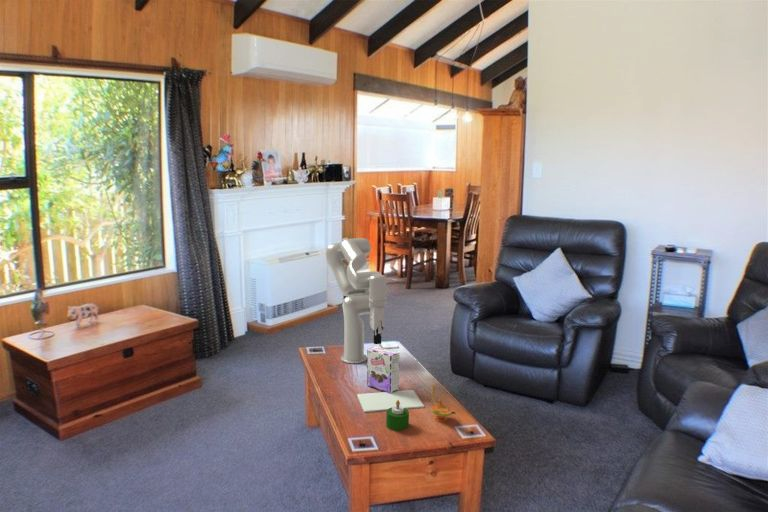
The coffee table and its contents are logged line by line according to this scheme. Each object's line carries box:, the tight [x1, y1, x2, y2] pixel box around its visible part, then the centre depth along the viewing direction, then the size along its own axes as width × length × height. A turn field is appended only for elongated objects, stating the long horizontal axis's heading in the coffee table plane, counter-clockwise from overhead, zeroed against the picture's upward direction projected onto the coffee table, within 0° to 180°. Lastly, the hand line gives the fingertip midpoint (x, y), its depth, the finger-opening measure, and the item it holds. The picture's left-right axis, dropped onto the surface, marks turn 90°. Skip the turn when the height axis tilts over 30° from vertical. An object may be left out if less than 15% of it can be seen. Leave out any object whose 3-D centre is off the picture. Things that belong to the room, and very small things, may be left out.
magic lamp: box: [430, 384, 457, 423], centre depth 219 cm, size 7×18×11 cm, turn 24°
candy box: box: [366, 346, 400, 393], centre depth 247 cm, size 14×6×16 cm, turn 47°
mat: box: [356, 389, 425, 413], centre depth 236 cm, size 16×24×1 cm, turn 103°
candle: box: [385, 400, 410, 432], centre depth 214 cm, size 8×8×10 cm
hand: (377, 343), depth 258 cm, fingers closed
